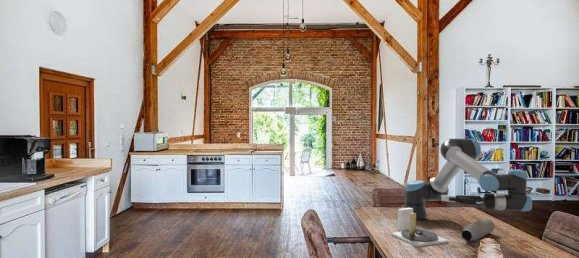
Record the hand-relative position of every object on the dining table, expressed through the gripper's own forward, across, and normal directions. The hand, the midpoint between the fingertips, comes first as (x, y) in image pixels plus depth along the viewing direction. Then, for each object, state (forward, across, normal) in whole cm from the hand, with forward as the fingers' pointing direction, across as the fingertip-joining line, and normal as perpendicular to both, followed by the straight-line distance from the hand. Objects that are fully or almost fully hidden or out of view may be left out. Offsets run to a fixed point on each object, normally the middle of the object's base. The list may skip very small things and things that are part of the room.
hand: (441, 198), depth 184 cm
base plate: (+10, +6, -23) cm, 26 cm away
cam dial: (+10, +6, -22) cm, 25 cm away
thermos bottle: (-28, +30, -20) cm, 45 cm away
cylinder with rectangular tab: (+16, +22, -24) cm, 36 cm away
